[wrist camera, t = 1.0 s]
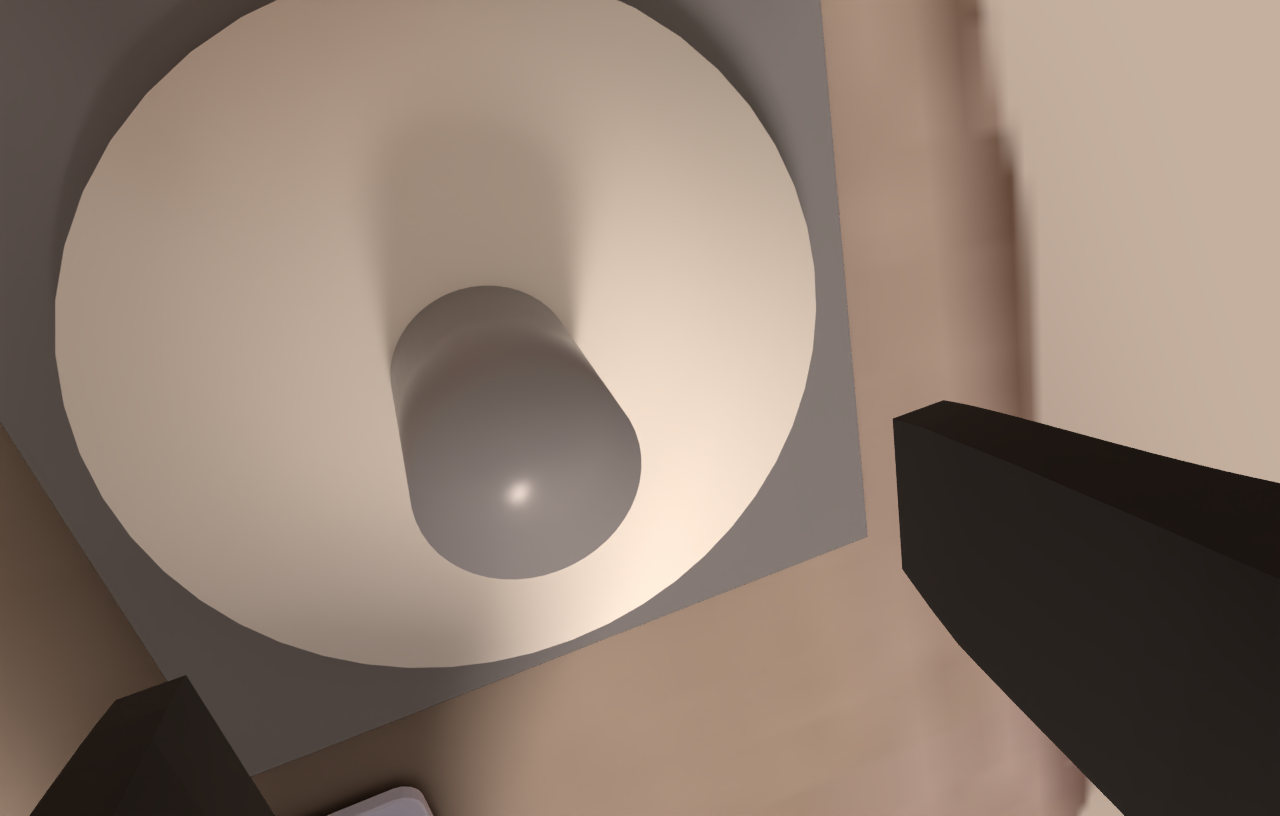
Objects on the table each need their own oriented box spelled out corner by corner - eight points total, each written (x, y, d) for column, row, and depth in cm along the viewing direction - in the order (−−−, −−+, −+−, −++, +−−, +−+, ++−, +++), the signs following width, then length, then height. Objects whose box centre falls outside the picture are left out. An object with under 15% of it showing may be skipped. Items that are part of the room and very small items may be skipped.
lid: (824, 515, 19) (947, 646, 15) (265, 727, 17) (249, 942, 13) (749, -118, 13) (920, -158, 9) (-120, 81, 11) (-352, 133, 7)
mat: (856, 524, 20) (867, 536, 20) (235, 764, 17) (233, 784, 17) (786, -202, 13) (802, -209, 13) (-241, 12, 11) (-265, 12, 10)
